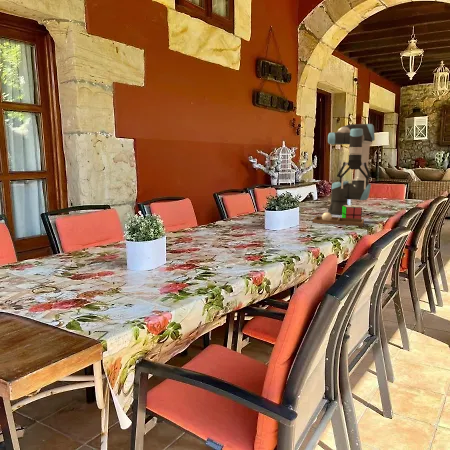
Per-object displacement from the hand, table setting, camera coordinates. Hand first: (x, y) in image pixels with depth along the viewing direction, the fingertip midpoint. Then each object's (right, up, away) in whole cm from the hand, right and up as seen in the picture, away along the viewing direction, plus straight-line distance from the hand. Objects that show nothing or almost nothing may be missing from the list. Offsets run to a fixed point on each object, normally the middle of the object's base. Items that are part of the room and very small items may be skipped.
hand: (353, 188), depth 265 cm
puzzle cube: (+2, -20, +10) cm, 23 cm away
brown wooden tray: (-10, -22, -1) cm, 24 cm away
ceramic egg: (-16, -21, +2) cm, 26 cm away
